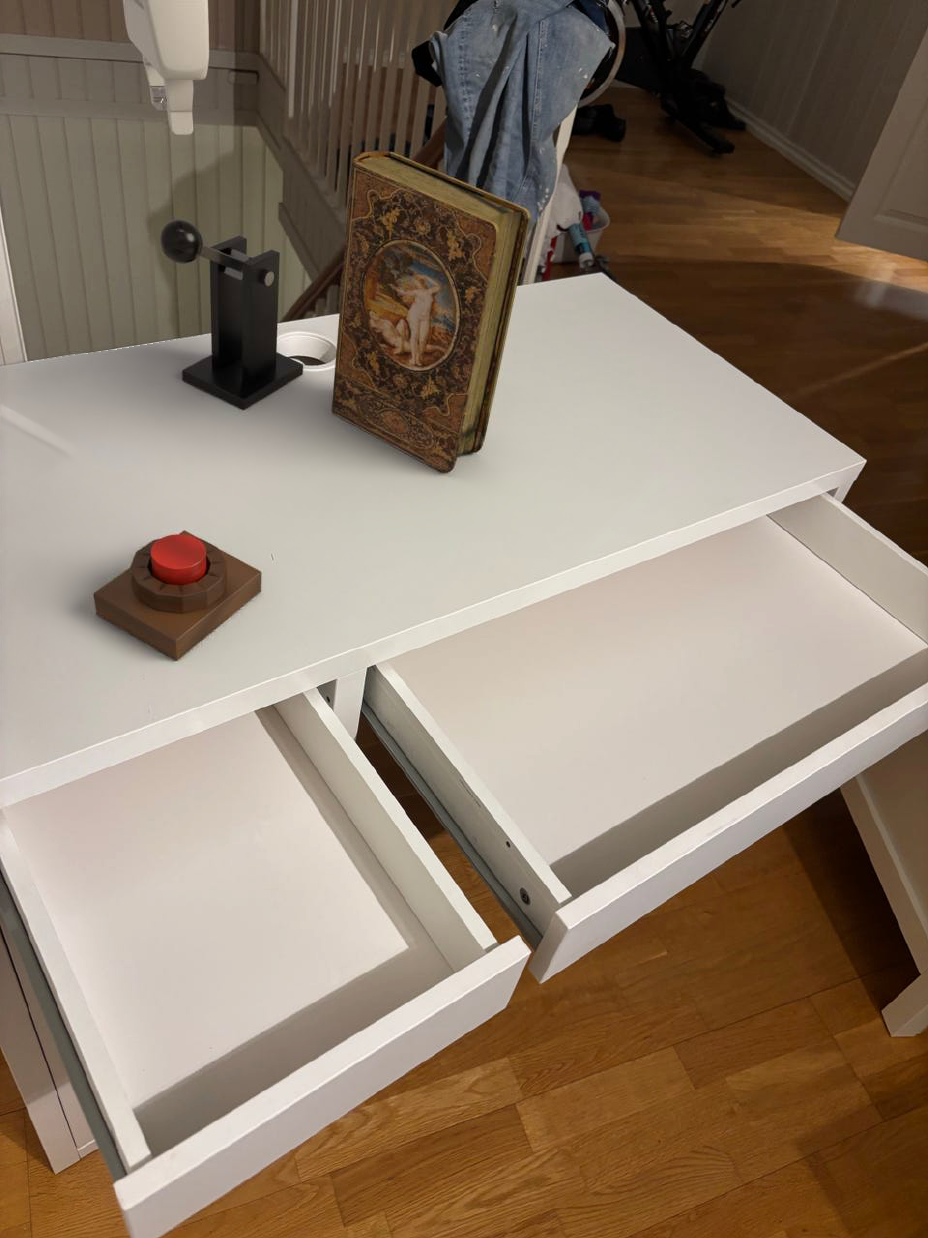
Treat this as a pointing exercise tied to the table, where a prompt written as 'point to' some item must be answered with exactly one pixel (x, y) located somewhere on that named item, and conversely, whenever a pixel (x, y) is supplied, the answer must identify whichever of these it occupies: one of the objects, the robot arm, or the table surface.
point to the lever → (197, 248)
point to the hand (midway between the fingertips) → (172, 120)
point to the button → (178, 559)
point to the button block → (177, 600)
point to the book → (424, 306)
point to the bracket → (243, 332)
